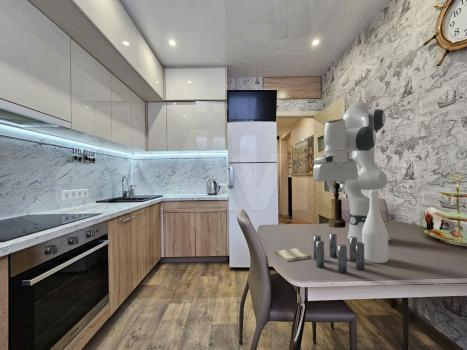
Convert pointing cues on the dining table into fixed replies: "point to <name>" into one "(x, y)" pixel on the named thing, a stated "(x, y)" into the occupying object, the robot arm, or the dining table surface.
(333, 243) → the capsules
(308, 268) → the dining table surface
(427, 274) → the dining table surface
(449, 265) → the dining table surface
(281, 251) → the birch board
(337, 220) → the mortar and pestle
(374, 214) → the wine bottle
